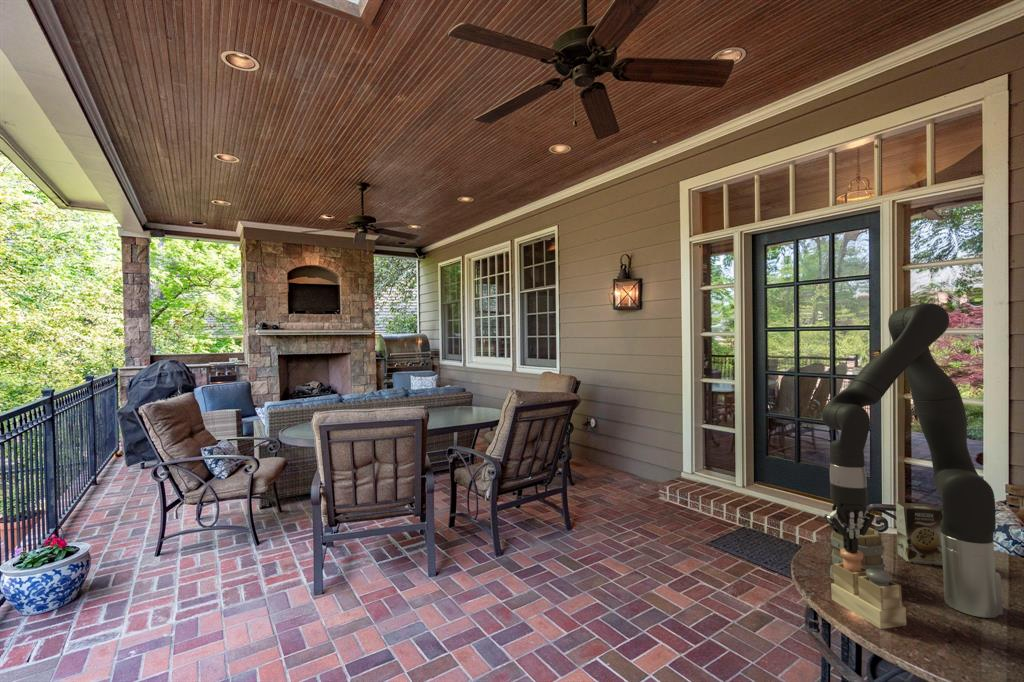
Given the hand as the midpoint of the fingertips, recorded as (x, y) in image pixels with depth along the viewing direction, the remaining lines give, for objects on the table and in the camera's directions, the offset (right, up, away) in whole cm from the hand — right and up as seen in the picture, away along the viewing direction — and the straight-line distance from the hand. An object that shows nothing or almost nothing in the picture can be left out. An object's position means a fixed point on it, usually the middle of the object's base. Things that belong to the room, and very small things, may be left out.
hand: (851, 551), depth 115 cm
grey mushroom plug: (+1, -9, -7) cm, 11 cm away
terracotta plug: (0, -7, 0) cm, 7 cm away
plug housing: (+1, -13, -4) cm, 13 cm away
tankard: (+13, -13, +14) cm, 23 cm away
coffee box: (+38, -13, +22) cm, 46 cm away
